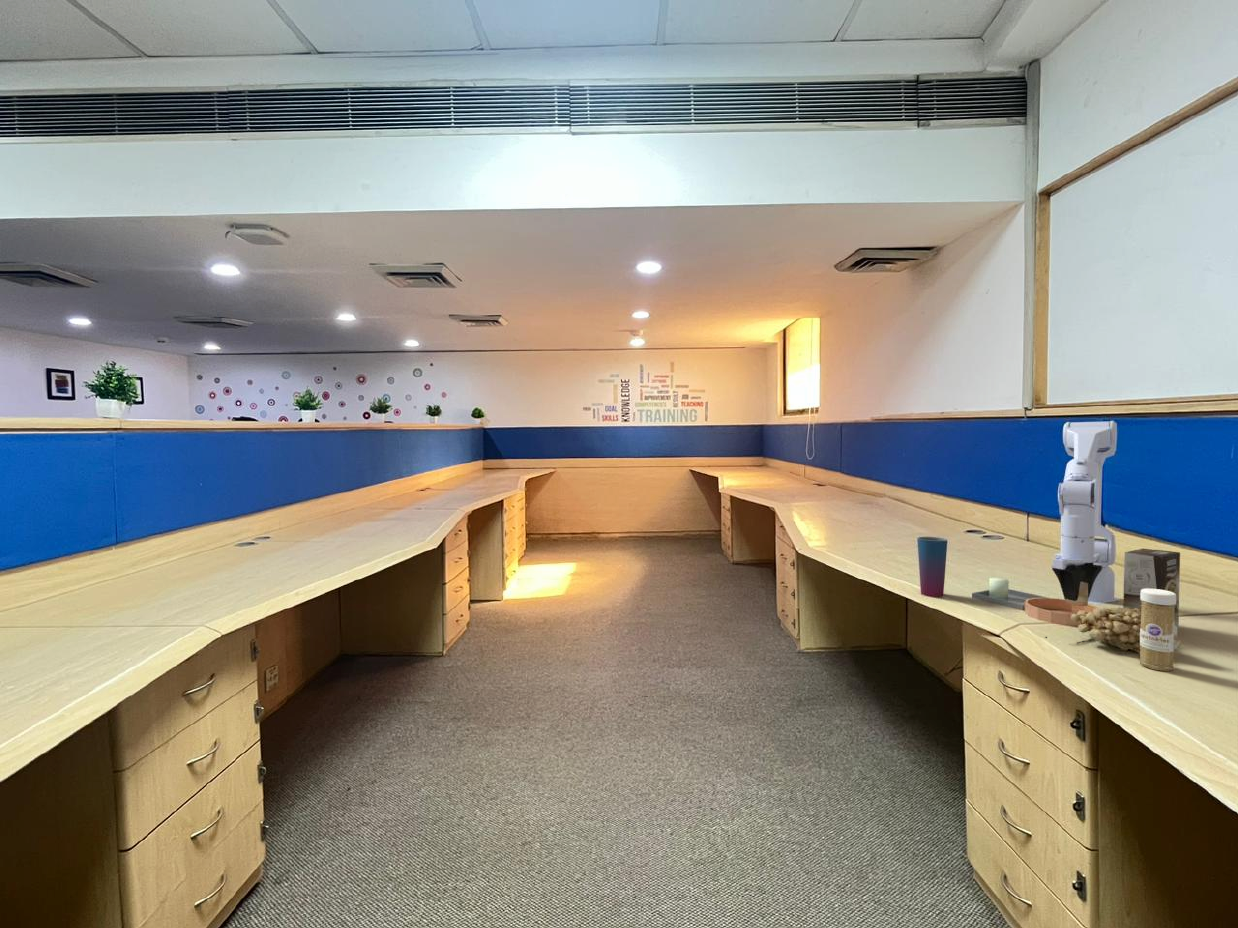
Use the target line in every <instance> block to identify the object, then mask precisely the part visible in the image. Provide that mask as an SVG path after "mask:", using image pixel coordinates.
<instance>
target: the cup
mask: <svg viewBox="0 0 1238 928" xmlns="http://www.w3.org/2000/svg"><path fill="white" fill-rule="evenodd" d="M916 540H917V542H916V543H917V553H918V557H917V558H918V567H919V568H918V569H919V586H920V594H921V595H922V596H924V597H930V598H942V597H944V593H945V579H946V568H947V567H946V566H947V565H946V563H947V551H948V539H947V538H944V537H939V536H918V537H917V538H916Z"/></svg>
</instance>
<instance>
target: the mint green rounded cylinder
mask: <svg viewBox="0 0 1238 928" xmlns="http://www.w3.org/2000/svg"><path fill="white" fill-rule="evenodd" d="M988 579H989V580H988V581H989V583H988V585H989V587H988V590H989V597H993V598H997V599H1002V600H1007V599H1008V590H1009V589H1010V588H1009V586H1010V585H1009V580H1008V579H1006V578H1001V577H990V578H988Z"/></svg>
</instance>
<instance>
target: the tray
mask: <svg viewBox="0 0 1238 928" xmlns="http://www.w3.org/2000/svg"><path fill="white" fill-rule="evenodd" d="M1031 598H1049V596H1048V597H1047V596H1042V595H1038V594H1035V593H1029V592H1024V591H1021V590H1014V589H1011V588H1009V590H1008V599H1007V600H1002V599H997V598H993V597H989V589H985V590H982V591H981V590H979V591H976V592H975V591H974V592H972V593H971V599H974V600H978V601H983V602H986V603H991V604H996V605H998V606H1004V607H1007V608H1012V609H1015V610H1021V611H1025V601H1026V600H1027V599H1031Z"/></svg>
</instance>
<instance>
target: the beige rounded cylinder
mask: <svg viewBox="0 0 1238 928" xmlns="http://www.w3.org/2000/svg"><path fill="white" fill-rule="evenodd" d="M1063 599H1064V598H1063ZM1064 602H1065V603H1067V604H1070V605H1077V606H1087V605H1088V604H1089V602H1088V583H1085V582H1081V583H1080V588H1079V595H1078V599H1077V601H1072V600H1068V599H1064Z"/></svg>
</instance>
